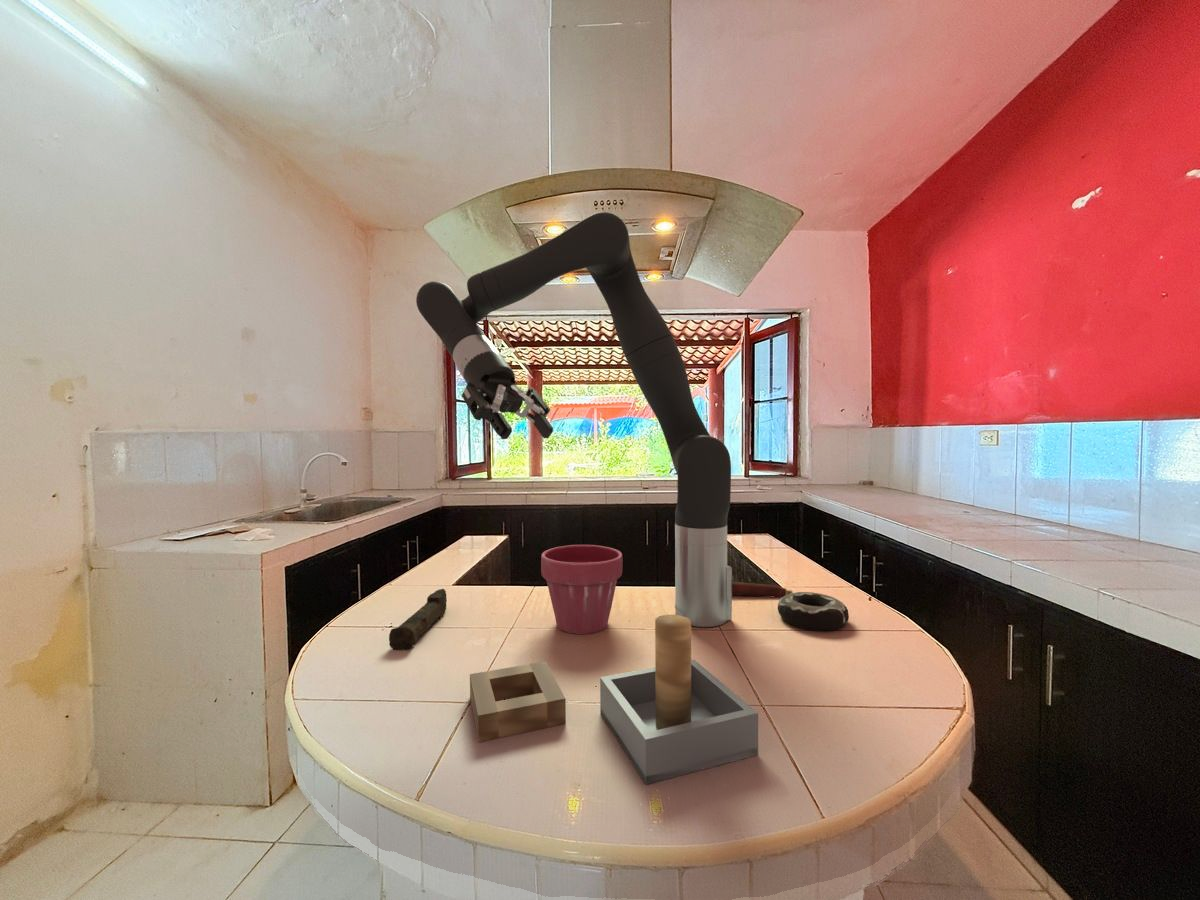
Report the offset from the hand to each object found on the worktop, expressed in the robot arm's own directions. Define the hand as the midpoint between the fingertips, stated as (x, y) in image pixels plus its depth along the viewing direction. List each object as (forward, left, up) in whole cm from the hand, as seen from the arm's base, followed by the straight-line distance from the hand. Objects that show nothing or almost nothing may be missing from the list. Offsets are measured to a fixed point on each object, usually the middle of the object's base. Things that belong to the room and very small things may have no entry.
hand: (529, 435), depth 78 cm
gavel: (-46, -9, -34) cm, 58 cm away
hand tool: (+16, -15, -34) cm, 41 cm away
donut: (-49, +7, -34) cm, 60 cm away
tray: (-10, +28, -34) cm, 45 cm away
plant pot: (-10, -6, -34) cm, 36 cm away
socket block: (+6, +17, -34) cm, 38 cm away
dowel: (-10, +28, -33) cm, 44 cm away
